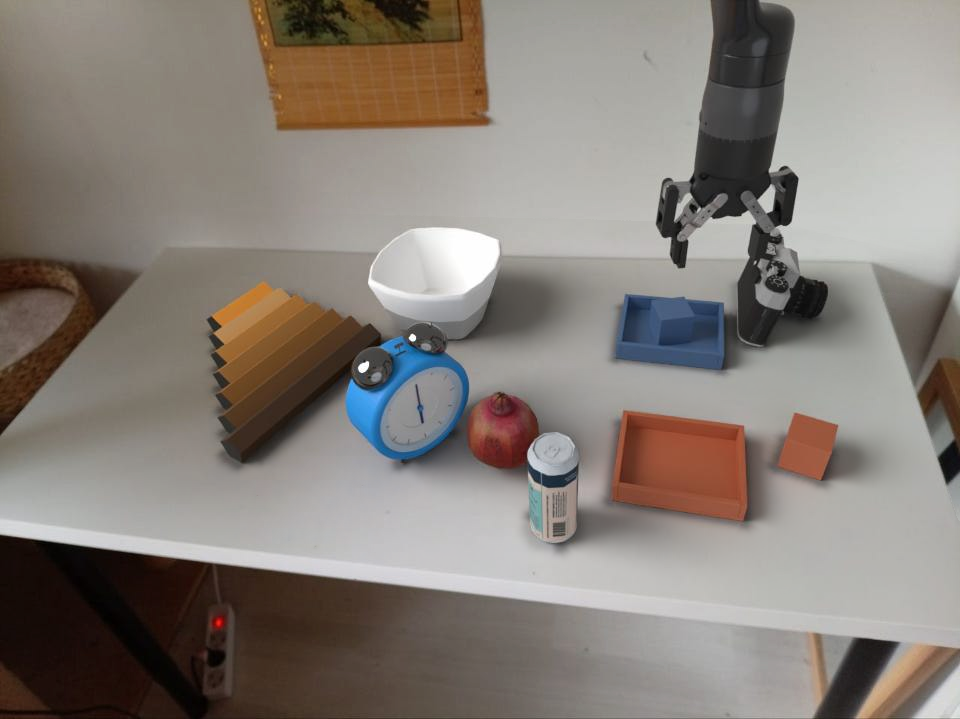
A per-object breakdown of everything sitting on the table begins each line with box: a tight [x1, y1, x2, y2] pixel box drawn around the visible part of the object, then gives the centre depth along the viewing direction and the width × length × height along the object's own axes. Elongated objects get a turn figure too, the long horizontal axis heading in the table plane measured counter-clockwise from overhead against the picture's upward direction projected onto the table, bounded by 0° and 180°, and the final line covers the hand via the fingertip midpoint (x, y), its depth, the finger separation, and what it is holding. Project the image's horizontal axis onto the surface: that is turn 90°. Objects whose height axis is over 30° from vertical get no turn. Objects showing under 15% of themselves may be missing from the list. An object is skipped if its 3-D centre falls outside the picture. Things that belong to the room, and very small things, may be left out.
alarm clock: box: [345, 322, 470, 464], centre depth 76 cm, size 13×6×15 cm, turn 129°
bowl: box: [367, 226, 503, 340], centre depth 96 cm, size 18×18×9 cm
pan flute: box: [206, 280, 382, 464], centre depth 92 cm, size 25×3×25 cm
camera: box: [736, 227, 829, 348], centre depth 90 cm, size 15×11×10 cm
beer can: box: [527, 431, 580, 544], centre depth 66 cm, size 5×5×12 cm
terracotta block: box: [777, 412, 839, 481], centre depth 73 cm, size 4×4×4 cm
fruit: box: [465, 391, 541, 470], centre depth 74 cm, size 8×8×10 cm
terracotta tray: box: [611, 409, 749, 522], centre depth 74 cm, size 13×11×2 cm
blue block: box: [649, 296, 695, 346], centre depth 90 cm, size 4×4×4 cm
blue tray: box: [615, 293, 725, 371], centre depth 91 cm, size 13×11×2 cm
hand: (716, 261), depth 78 cm, fingers open, 8 cm apart
